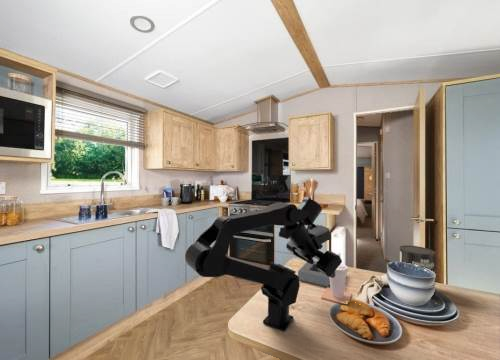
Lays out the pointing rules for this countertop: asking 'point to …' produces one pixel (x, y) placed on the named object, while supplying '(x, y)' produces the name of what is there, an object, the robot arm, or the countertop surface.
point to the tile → (329, 297)
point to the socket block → (313, 275)
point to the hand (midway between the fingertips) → (322, 269)
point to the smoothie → (338, 281)
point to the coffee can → (418, 256)
